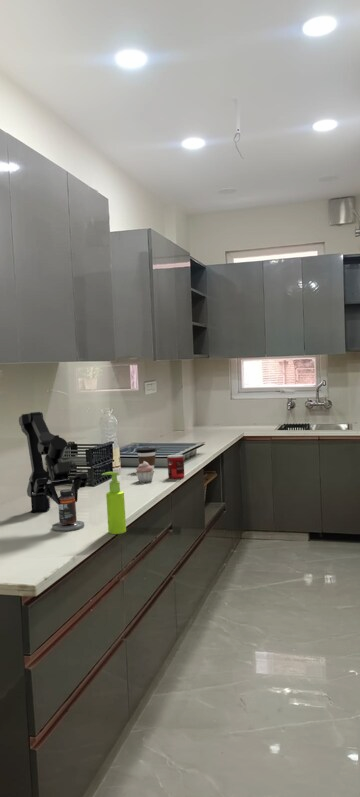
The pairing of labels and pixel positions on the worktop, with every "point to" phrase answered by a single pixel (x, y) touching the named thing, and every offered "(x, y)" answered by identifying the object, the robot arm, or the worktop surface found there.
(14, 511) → the worktop surface
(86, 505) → the worktop surface
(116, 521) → the soap dispenser
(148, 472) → the cupcake
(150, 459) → the coffee cup
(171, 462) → the canned food
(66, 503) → the supplement bottle
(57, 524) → the dark gray plate
